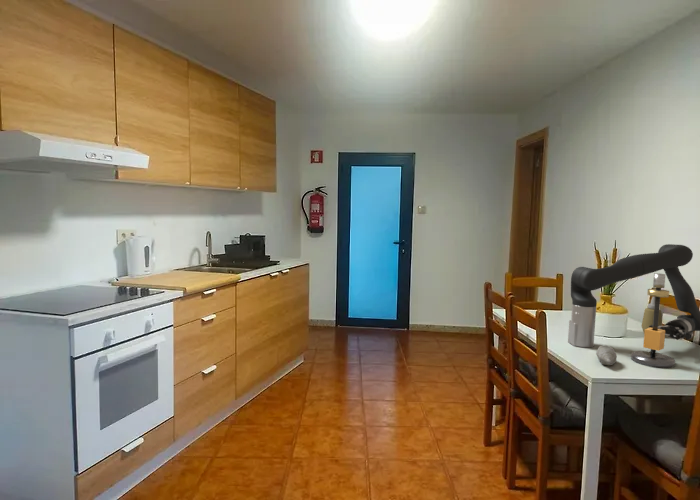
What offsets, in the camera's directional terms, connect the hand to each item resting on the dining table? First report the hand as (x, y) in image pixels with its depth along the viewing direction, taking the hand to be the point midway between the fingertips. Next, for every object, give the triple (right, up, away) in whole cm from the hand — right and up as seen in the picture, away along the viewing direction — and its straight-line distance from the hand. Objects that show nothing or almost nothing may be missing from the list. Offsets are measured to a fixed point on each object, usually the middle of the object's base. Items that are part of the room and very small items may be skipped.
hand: (664, 334), depth 182 cm
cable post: (-8, -9, -6) cm, 14 cm away
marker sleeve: (-8, -4, -6) cm, 11 cm away
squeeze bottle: (+16, -6, +33) cm, 37 cm away
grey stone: (-28, -10, -8) cm, 30 cm away
